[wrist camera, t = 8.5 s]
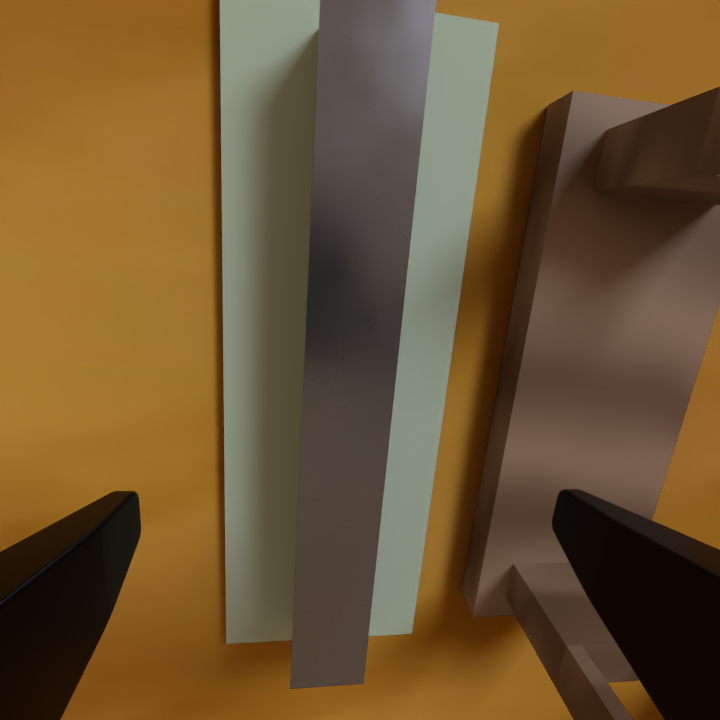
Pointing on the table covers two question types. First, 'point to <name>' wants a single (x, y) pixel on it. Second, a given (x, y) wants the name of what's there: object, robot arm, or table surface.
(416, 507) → the rubber mat
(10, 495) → the table surface
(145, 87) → the table surface
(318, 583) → the hang rail
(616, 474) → the hook stand
